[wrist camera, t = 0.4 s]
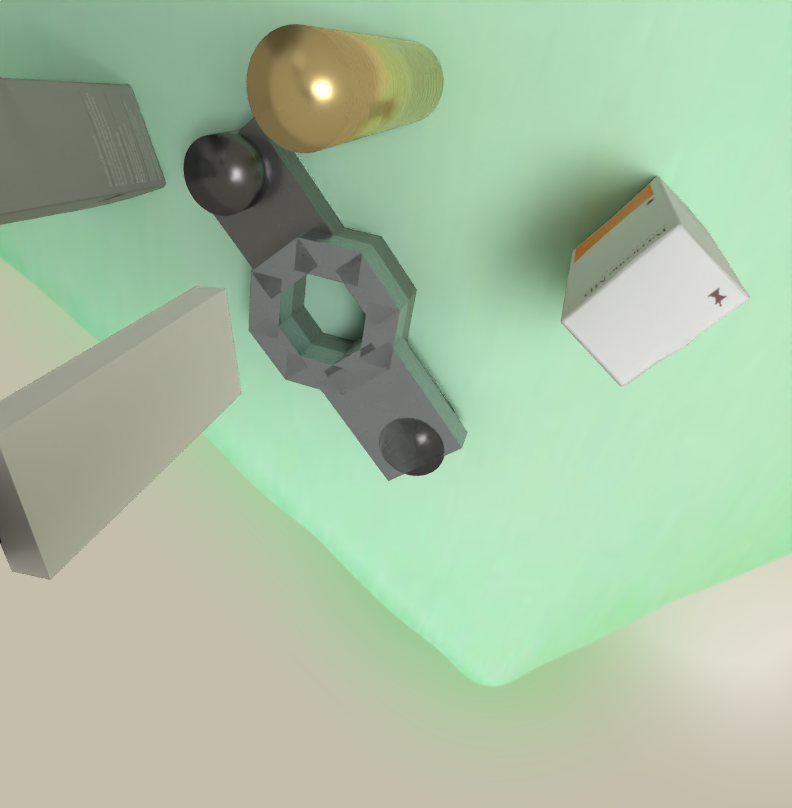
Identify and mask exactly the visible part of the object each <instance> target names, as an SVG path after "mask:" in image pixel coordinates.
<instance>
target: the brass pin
mask: <svg viewBox="0 0 792 808" xmlns="http://www.w3.org/2000/svg"><path fill="white" fill-rule="evenodd" d="M442 91H443V73H442V68H441V66H440V63H439V61H438V59H437V58H436V56H435V55H434V53H433V52H432V51H431V50H430V49H429V48H427V47H426V46H424V45H422V44H420V43H417V42H413V41H407V40H400V39H393V38H387V37H380V36H373V35H367V34H360V33H353V32H346V31H340V30H333V29H326V28H320V27H313V26H306V25H298V24H294V25H286V26H282V27H280V28H277V29H275V30H273V31H272V32H270V33H269V34H268V35H267V36H265V37H264V38H263V39H262V41H261V42H260V43H259V44H258V46H257V47H256V49H255V51H254V53H253V55H252V57H251V60H250V63H249V67H248V72H247V94H248V100H249V104H250V107H251V110H252V113H253V115H254V117H255V119H256V121H257V123H258V124H259V126H260V128H261V129H262V130H263V131H264V133H265V134H266V135H267V136H268V137H269V138H270V139H271V140H272V141H274V142H275V143H276V144H278V145H279V146H281V147H283V148H285V149H287V150H290V151H294V152H299V153H310V152H316V151H319V150H322V149H326V148H329V147H332V146H336V145H339V144H342V143H346V142H349V141H352V140H356V139H359V138H362V137H366V136H369V135H373V134H376V133H379V132H383V131H386V130H389V129H393V128H396V127H399V126H403V125H406V124H409V123H413V122H416V121H419V120H421V119H423V118H425V117H426V116H428V115H429V114H430V113H431V112H432V111H433V110H434V109H435V107H436V106H437V104H438V102H439V100H440V98H441V95H442Z"/></svg>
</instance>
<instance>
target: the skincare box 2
mask: <svg viewBox="0 0 792 808" xmlns="http://www.w3.org/2000/svg"><path fill="white" fill-rule="evenodd" d="M749 298H750V296H749V294H748V293H747V292H746V290H745V289H744V287H743V286H742V285H741V283H740V281H739V279H738V278H737V276H736V274H735V273H734V271H733V270H732V268H731V266H730V265H729V263H728V262H727V260H726V258H725V257H724V255H723V254H722V252H721V251H720V249H719V248H718V246H717V245H716V243H715V241H714V240H713V238H712V236H711V235H710V233H709V232H708V230H707V229H706V228H705V227H704V226H703V225H702V224H701V222H700V221H699V220H698V219H697V218H696V217H695V215H694V214H693V213H692V212H691V211H690V210H689V209H688V207H687V206H686V205H685V204H684V203H683V202H682V201H681V200H680V198H679V197H678V196H677V195H676V194H675V193H674V192H673V191H672V190H671V189H670V188H669V187H668V186H667V185H666V184H665V182H664V181H663V180H662V179H661V178H660V177H656V178H654V179H653V180H652V181H651V182H650V183H649V184H648V185H647V186H646V187H645V188H644V189H643V190H642V191H641V192H639V193H638V194H637V195H636V196H635V197H634V198H633V199H632V200H631V201H629V202H628V203H627V204H626V205H625V206H624V207H623V208H622V209H621V210H619V211H618V212H617V213H616V214H615V215H614V216H613V217H612V218H610V219H609V220H608V221H607V222H606V223H605V224H603V225H602V226H601V227H600V228H599V229H597V230H596V231H595V232H594V233H593V234H591V235H590V236H589V237H588V238H587V239H586V240H584V241H583V242H582V243H581V244H580V245H579V246H577V247H576V248H575V249H574V250H573V252H572V257H571V263H570V269H569V275H568V281H567V287H566V292H565V299H564V305H563V310H562V317H561V323H562V324H563V325H564V326H565V327H566V328H567V329H568V331H569V332H570V333H571V334H572V335H573V336H574V337H575V338H576V339H577V340H578V341H579V342H580V344H581V345H582V346H583V347H584V348H585V349H586V350H587V351H588V352H589V353H590V354H591V355H592V356H593V357H594V359H595V360H596V361H597V362H598V363H599V364H600V365H601V366H602V367H603V368H604V369H605V370H606V372H607V373H608V374H609V375H610V376H611V377H612V378H613V379H614V380H615V381H616V382H617V383H618V384H619V385H620V386H625V385H627V384H628V383H630V382H631V381H633V380H634V379H635V378H637V377H638V376H640V375H641V374H643V373H644V372H646V371H647V370H648V369H650V368H651V367H653V366H654V365H656V364H657V363H659V362H660V361H661V360H663V359H665V358H666V357H668V356H670V355H672V354H673V353H675V352H677V351H678V350H680V349H681V348H683V347H684V346H686V345H687V344H689V343H690V342H691V341H692V340H693V339H694V338H696V337H697V336H698V335H700V334H701V333H702V332H704V331H705V330H707V329H708V328H710V327H711V326H712V325H714V324H715V323H716V322H718V321H719V320H721V319H722V318H724V317H725V316H726V315H728V314H729V313H731V312H732V311H734V310H735V309H736V308H738V307H739V306H741V305H742V304H743V303H745V302H746V301H748V299H749Z"/></svg>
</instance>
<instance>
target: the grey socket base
mask: <svg viewBox="0 0 792 808" xmlns="http://www.w3.org/2000/svg"><path fill="white" fill-rule="evenodd" d="M184 177H185V181H186V184H187V187H188V189H189V191H190V193H191V195H192V196H193V198H194V199H195V200H196V202H197V203H198V204H199V205H200V206H201V207H203V208H204V209H205V210H207V211H208V212H210V213H213V214H214V216H215V217H216V218H217V220H218V221H219V222H220V224H221V225H222V226H223V228H224V229H225V231H226V232H227V233H228V235H229V236H230V237H231V239H232V240H233V242H234V243H235V244H236V246H237V247H238V248H239V250H240V251H241V253H242V254H243V255H244V257H245V258H246V259H247V261H248V262H249V264H250V265H251V266H252V268H253V269H254V270H252V271H251V292H250V314H249V331H250V333H251V334H252V335H253V337H254V338H255V339H256V341H257V342H258V343H259V345H260V346H261V347H262V349H263V350H264V351H265V353H266V354H267V355H268V357H269V358H270V359H271V361H272V362H273V363H274V365H275V366H276V367H277V369H278V370H279V371H280V373H281V374H282V375H283V377H284V378H285V380H289V381H292V382H296V383H299V384H303V385H306V386H310V387H313V388H317V389H320V390H322V392H323V393H324V394H325V396H326V397H327V399H328V400H329V401H330V403H331V404H332V405H333V407H334V408H335V409H336V411H337V412H338V413H339V415H340V416H341V417H342V419H343V420H344V422H345V423H346V424H347V426H348V427H349V428H350V430H351V431H352V432H353V434H354V435H355V436H356V438H357V439H358V440H359V442H360V443H361V445H362V446H363V447H364V449H365V450H366V451H367V453H368V454H369V455H370V457H371V458H372V459H373V461H374V462H375V464H376V465H377V466H378V468H379V469H380V470H381V472H382V473H383V474H384V476H385V477H386V478H387V480H388V481H389V480H392V479H394V478H396V477H398V476H401V475H403V474H408V475H413V476H420V475H426V474H429V473H431V472H433V471H434V470H436V469H437V468H438V467H439V466H440V464H441V463H442V461H443V458H444V456H445V455H447V454H450V453H452V452H454V451H456V450H458V449H461V448H462V446H463V444H464V441H465V438H466V435H467V431H466V430H465V428H464V427H463V425H462V424H461V422H460V421H459V419H458V418H457V416H456V415H455V412H454V410H453V408H452V406H451V405H450V403H449V402H448V401H447V400H446V399H445V398H444V397H443V396H442V394H441V393H440V391H439V390H438V388H437V387H436V385H435V384H434V383H433V381H432V380H431V378H430V377H429V375H428V374H427V372H426V371H425V369H424V368H423V366H422V365H421V363H420V362H419V360H418V359H417V358H416V356H415V355H414V353H413V352H412V350H411V349H410V347H409V346H408V344H407V338H408V333H409V327H410V322H411V317H412V311H413V306H414V301H415V295H416V291H417V289H416V288H415V287H414V285H413V284H412V282H411V281H410V279H409V278H408V276H407V275H406V273H405V271H404V270H403V268H402V267H401V265H400V264H399V262H398V261H397V259H396V258H395V256H394V255H393V253H392V252H391V250H390V249H389V247H388V246H387V244H386V243H385V241H384V240H383V238H382V237H380V236H376V235H372V234H368V233H364V232H359V231H355V230H351V229H347V228H344V226H343V225H342V223H341V222H340V220H339V219H338V217H337V216H336V214H335V213H334V211H333V210H332V209H331V207H330V206H329V204H328V203H327V201H326V200H325V198H324V197H323V195H322V194H321V192H320V191H319V189H318V188H317V186H316V185H315V183H314V182H313V180H312V179H311V177H310V176H309V174H308V173H307V171H306V170H305V168H304V167H303V165H302V164H301V162H300V161H299V159H298V158H297V156H296V155H295V153H294V152H293V151H290V150H287V149H285V148H283V147H281V146H279V145H278V144H276V143H275V142H274V141H272V140H271V139H270V138H269V137H268V136H267V135H266V134H265V133H264V131H263V130H262V129H261V128H260V126H259V124H258V123H257V121H256V119H255V118H253V119H252V120H251V121H250V122H249V123H248V124H247V125H246V126H244V127H243V128H242V129H241V130H236V131H230V132H224V133H219V134H213V135H207V136H203V137H201V138H199V139H197V140H196V141H194V142H193V143H192V145H191V146H190V147H189V149H188V151H187V153H186V156H185V159H184ZM306 274H311V275H315V276H319V277H323V278H327V279H331V280H335V281H339V282H343V283H344V284H345V285H346V287H347V288H348V290H349V291H350V293H351V294H352V296H353V297H354V298H355V300H356V301H357V303H358V304H359V306H360V307H361V309H362V310H363V311H364V313H365V314H366V318H365V324H364V331H363V337H361V338H359V339H358V340H356V341H354V342H353V341H350V340H346V339H342V338H339V337H335V336H331V335H328V334H324V333H323V332H322V331H321V330H320V328H319V327H318V325H317V324H316V323H315V321H314V320H313V318H312V317H311V316H310V314H309V313H308V311H307V310H306V309H305V307H304V295H305V284H306Z"/></svg>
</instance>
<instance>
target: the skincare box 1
mask: <svg viewBox="0 0 792 808" xmlns="http://www.w3.org/2000/svg"><path fill="white" fill-rule="evenodd" d="M164 185H165V180H164V177H163V174H162V172H161V169H160V166H159V163H158V161H157V158H156V155H155V152H154V149H153V147H152V144H151V141H150V138H149V135H148V132H147V129H146V126H145V123H144V121H143V117H142V114H141V112H140V109H139V106H138V104H137V101H136V98H135V95H134V93H133V90H132V87H131V86H130V85H129V84H125V85H120V84H100V83H83V82H65V81H49V80H31V79H11V78H0V225H2V224H7V223H12V222H17V221H23V220H29V219H35V218H39V217H44V216H50V215H55V214H61V213H67V212H72V211H77V210H82V209H87V208H91V207H96V206H100V205H105V204H109V203H113V202H117V201H121V200H124V199H128V198H132V197H135V196H138V195H141V194H145V193H148V192H151V191H154V190H157V189H160V188H163V187H164Z"/></svg>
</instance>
